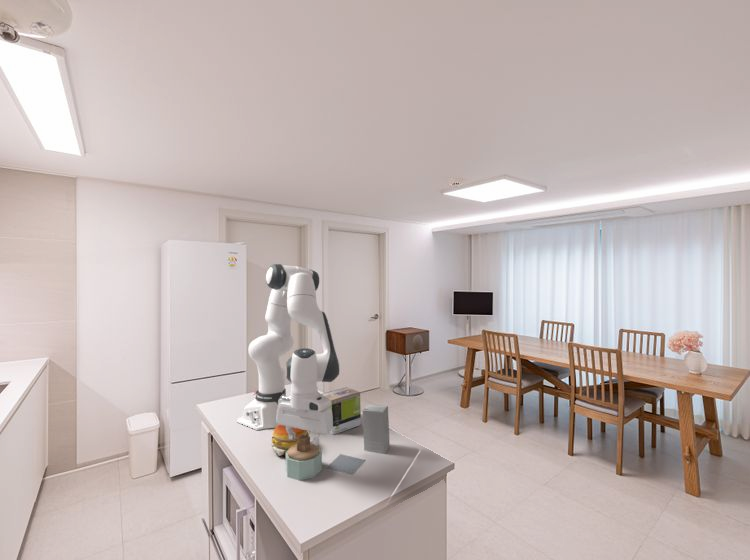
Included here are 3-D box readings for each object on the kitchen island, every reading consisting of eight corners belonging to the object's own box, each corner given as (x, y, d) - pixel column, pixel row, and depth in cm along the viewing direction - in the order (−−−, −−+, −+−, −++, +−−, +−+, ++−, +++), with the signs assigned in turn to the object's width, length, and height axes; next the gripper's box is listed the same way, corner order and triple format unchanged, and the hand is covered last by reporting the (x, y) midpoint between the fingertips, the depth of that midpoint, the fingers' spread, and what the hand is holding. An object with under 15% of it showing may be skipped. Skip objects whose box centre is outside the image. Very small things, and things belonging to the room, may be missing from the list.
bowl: (279, 475, 111) (279, 456, 111) (299, 459, 121) (299, 442, 121) (307, 483, 106) (308, 464, 107) (326, 466, 117) (327, 448, 117)
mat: (325, 469, 115) (325, 467, 115) (340, 455, 124) (340, 454, 124) (352, 475, 111) (352, 474, 111) (365, 461, 120) (365, 459, 120)
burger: (315, 445, 132) (315, 418, 132) (294, 462, 119) (294, 433, 119) (286, 438, 137) (286, 413, 137) (263, 454, 124) (263, 426, 124)
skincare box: (389, 447, 130) (390, 405, 130) (384, 456, 124) (384, 411, 124) (368, 443, 133) (368, 402, 133) (361, 452, 126) (362, 408, 126)
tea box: (347, 419, 157) (347, 386, 157) (361, 426, 149) (361, 391, 149) (318, 428, 147) (318, 393, 147) (332, 436, 140) (332, 399, 140)
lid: (281, 456, 111) (281, 440, 111) (300, 443, 120) (300, 428, 120) (307, 463, 107) (307, 447, 107) (324, 448, 116) (324, 434, 116)
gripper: (272, 397, 115) (272, 439, 115) (325, 407, 107) (324, 452, 107) (284, 392, 121) (284, 432, 121) (335, 400, 113) (335, 443, 113)
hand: (303, 441), depth 114 cm, fingers open, 8 cm apart
